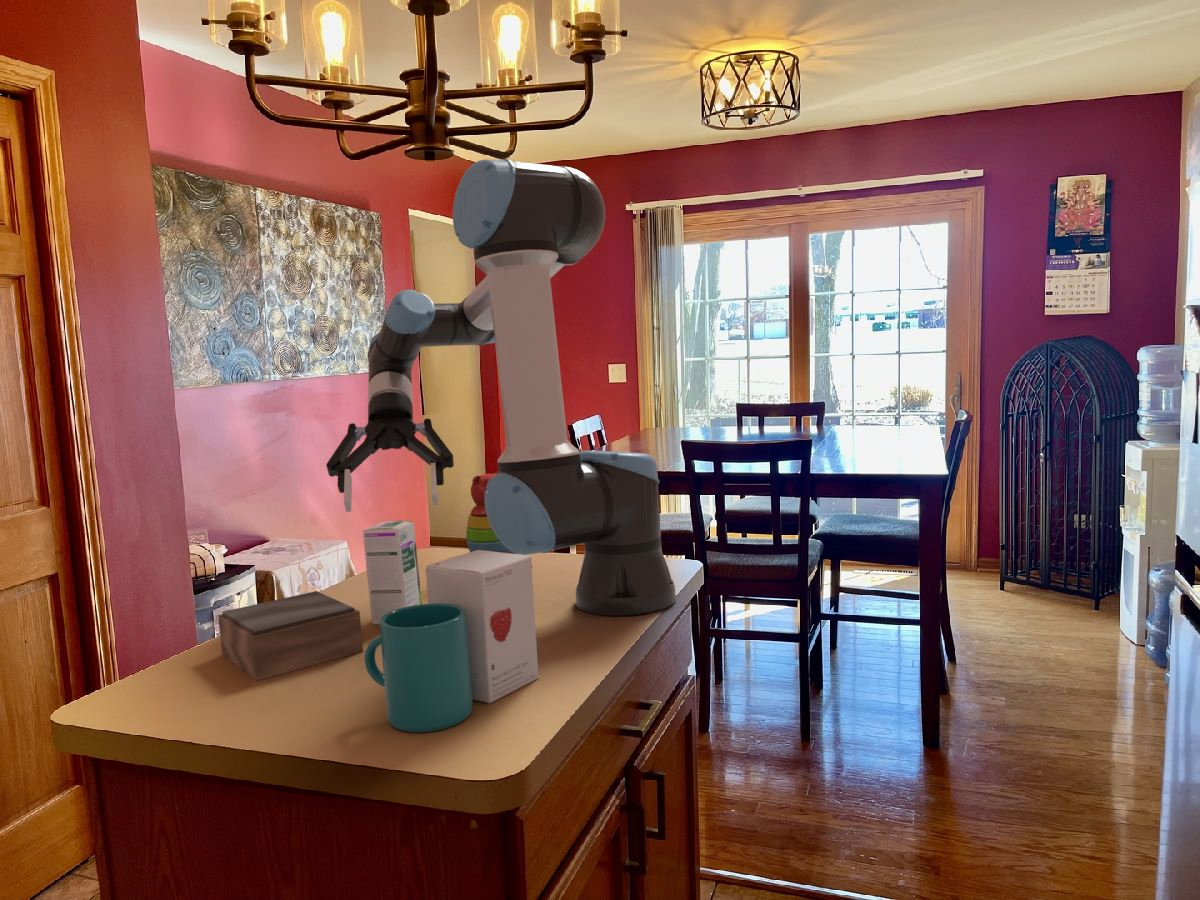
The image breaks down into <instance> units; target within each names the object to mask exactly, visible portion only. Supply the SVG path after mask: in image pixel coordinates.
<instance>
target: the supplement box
mask: <svg viewBox="0 0 1200 900" xmlns="http://www.w3.org/2000/svg"><path fill="white" fill-rule="evenodd" d="M425 575H426V590H427V604H432V603H444V604H453V605H457V606H460V607H462V608H464V609H465V611H466V621H467V634H468V647H469V660H470V673H471V686H472V700H473V701H474V700H475V701H479V702H483V703H485V704H492V703H494V702H496V701H498V700H499V699H501V698H503V697H505V696H507V695H509V694H511V693H512V692H515V691H517V690H518V689H520V688H523V687H524V686H526V685H528V684H530V683H532V682H534V681H536V680H537V679H539V664H538V663H539V662H538V649H537V648H538V647H537V630H536V615H535V614H536V613H535V599H534V597H535V596H534V584H533V563H532V555H521V554H509V553H501V552H493V551H485V550H476V551H473V552H470V551H469V552H467V553H464V554H459V555H455V556H451V557H449V558H447V559H443V560H439V561H436V562H434V563H430V564H427V565H426V566H425Z"/></svg>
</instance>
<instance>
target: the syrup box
mask: <svg viewBox="0 0 1200 900" xmlns="http://www.w3.org/2000/svg"><path fill="white" fill-rule="evenodd" d="M362 538H363V547H364V555H365V567H366V576H367V577H366V578H367V585H368V597H369V603H370V604H369V605H370V614H371V623H372V625H379V621H380V619H381V618H382V617H383V616H384V615H385V614H387V613H389V612H391V611H394V610H397V609H400V608H404V607H408V606H414V605H421V604H423V603H422V593H421V591H422V590H421V582H420V571H419V570H420V569H419V562H418V561H419V560H418V551H417V541H416V531H415V523H414V521H412V520H388V521H387V520H386V521H379V522H378V524H374V525H373V526H370V527H368V528H365V529H363V530H362Z"/></svg>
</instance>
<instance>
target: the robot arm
mask: <svg viewBox="0 0 1200 900" xmlns="http://www.w3.org/2000/svg"><path fill="white" fill-rule="evenodd" d="M455 191H456V192H455V194H454V201H453V205H452V206H453V207H452V225H453V230H454V233H455V236H456V237H457V239H458V241H459V242H460V244H462V245H463V246H465V247H467V248H468V249H473V257H474V264H475V266H476V267H477V268H478V269H480V270H481V271H482V272H483V273H484V274H486V276H485V277H484V278H483V280H481V282H480V283H478V285H476V286H475V288H473V290H472V291H471V292H470V293H469V294H468V295H467V296H466V297H465V298H464V299H463V300H462V301H461V302H458V303H457V302H455V303H453V302H451V303H447V302H446V303H444V302H443V303H442V302H441V303H438V302H437V303H435V302H433V300H432V299H431V298H430V297H429V296H427V294H425V293H423V292H416V290H414V289H405V290H404V289H403V290H400V291H399V292H397V293H396V294H395V295H394V296H393V298H392V300H391V301H390V303H389V305H388V307H387V309H386V310H385V314H384V319H383V322H382V324H381V329H380V331H379V332H377V333H376V334H375V335H373V337H372V338H371V339H370V341H369V346H368V347H369V349H368V351H367V359H368V360H367V361H368V387H367V388H368V389H367V391H368V393H367V403H368V406H367V424H366V425H365V426H356V424H355V423H354V422H352V423H349V424H348V427H347V431H346V432H347V433H346V435H345V436H344V437H343V438H342V440H341V442H340V444H339V445H338V446H337V448H336V449H335V451H334V452H333V453H332V455H331V457H330V458H329V460H328V461H327V462H326V465H325V466H326V470H327V473H328V476H329V477H337V489H338V491H339V493H340V494H343V504H344V505H343V506H344V508H345V512H346V513H349V512H350V513H352V499H353V498H352V495H353V493H352V491H353V478H352V473H353V472H354V471H356V469H357V468H359V466H360V465H361V464H363V463H364V461H365V460H367V459H368V457H370V456H371V455H374V454H375V453H377V451H378V450H380V449H381V450H382V451H387V450H391V449H392V450H401V449H402V448H403V447H404V448H406V449H407V450H408V451H409V452H412V453H414V454H415V455H416V456H418V458H420V459H421V460H423V461H424V462H425V463H426V464H427V465H428V466H430V476H431V477H430V478H431V497H432V505H433V506H436V505H437V506H438V505H439V499H438V497H439V496H438V486H444V484H445V483H444V482H445V478H444V477H445V476H444V470H445V469H446V468H449V469H451V468H454V466H455V463H454V454H453V453H452V452H451V450H450V449H449V448H448V447H447V445H446V443H445V442H444V441H443V440H442V438H441V437H440V436H439V434H438V433H437V431H435V429H434V428H433V424H432V420H431V418H427V417H426V418H425V419H424V420H423V422H418V423H415V422H414V409H413V407H414V406H413V381H412V379H413V378H412V375H413V374H412V373H413V372H412V370H413V366H414V363H415V361H416V358H417V357H418V355H419V353H420V351H421V348H423V347H424V348H425V347H426V348H427V347H428V348H429V347H447V346H449V347H450V346H485V345H486V344H487V345H489V344H495V353H496V354H495V355H496V362H497V363H496V364H497V371H498V381H499V389H500V399H501V408H502V417H503V424H504V425H503V427H504V435H505V445H506V447H505V449H504V450H503V452H502V453H501V454H500V456H499V457H498V459H497V460H496V461H497V472H499V473H498V474H496V475H495V476H494V477H492V478H491V479H490V480H489V481H488V483H487V486H486V488H487V490H486V491H485V508H486V513H487V517H488V520H489V523H490V525H491V527H492V530H493V531H494V533H495V535H496V537H497V538H499V540H500V541H501V543H502V544H503V545H504V546H505V547H506V548H507V549H509V550H510V551H512V552H514V553H516V554H521V555H528V556H530V555H535V554H548V553H550V552H552V551H555V550H560V549H564V548H568V547H573V546H578V545H582V544H584V545H583V546H584V556H583V560H582V565H581V568H580V573H579V578H578V584H577V585H576V588H575V602H576V603H575V604H576V607H577V608H578V609H579V610H582V611H583V612H586V613H589V614H595V615H601V616H615V617H616V616H619V617H620V616H633V615H636V616H637V615H643V614H648V613H649V614H651V613H654V612H657V611H660V610H663V609H666V608H669V607H670V606H672V605H673V604H674V603H675V602H676V585H675V583H674V580H673V579H672V576H671V573H670V570H669V567H668V564H667V561H666V559H665V556H664V553H663V551H662V550H663V549H662V539H661V538H662V537H661V535H662V534H661V532H662V531H661V513H660V512H661V510H660V509H661V508H660V485H659V484H660V479H659V477H658V476H659V475H658V467H657V462H656V460H655V458H654V457H653V456H652V455H650V454H648V453H645V452H644V453H641V452H630V451H627V452H626V451H612V450H582V451H580V450H579V448H577V447H575V446H574V445H573V444H572V443H571V442H570V441H569V440H568V434H567V433H568V431H567V424H566V423H567V422H566V414H565V404H564V403H565V402H564V393H563V386H562V378H561V367H560V359H559V348H558V339H557V329H556V321H555V320H556V319H555V313H554V311H555V310H554V302H553V294H552V285H551V284H552V283H551V279H552V278H553V277H554V276H555V275H556V274H557V273H558V272H559V271H560V270H561V269H563V267H565V266H572V265H576V264H578V263H579V262H580V261H581V260H582V259H583V258H585V257H586V256H587V255H588V254H589V253H590V252H591V251H592V250H593V248H594V247H595V246H596V245H597V243H598V242H599V241H600V238H601V236H602V233H603V231H604V229H605V222H606V218H607V217H606V205H605V202H604V198H603V195H602V193H601V191H600V189H599V187H598V186H597V185H596V184H595V182H594V181H593V180H592V179H591V178H590V177H589V176H587V174H585V173H584V172H582V171H580V170H578V169H576V168H573V167H570V166H565V165H550V164H541V163H534V162H524V161H517V160H516V161H515V160H511V159H509V158H502V159H481V160H478V161H476V162H474V163H472V164H471V165H470V166H469V167H468V168H467V169H466V171H465V172H464V173H463V175H462V177H461V179H460V181H459V183H458V186H457V188H456V190H455ZM417 432H418V433H420V435H422V436H423V437H426V440H427V441H428V443H429V444H430V446H431V447H432V449H433V450H434V451H435V452H434V451H433V450H432V449H431V448H430V447H428V446H427V445H426V444H424V442H422V441H421V440H419V439H418V437H416V434H417ZM363 436H366V437H365V438H364V441H362V443H361V444H360V445H358V446H357V448H355V446H356V444H357V442H360V440H361V438H362V437H363ZM354 448H355V449H354Z"/></svg>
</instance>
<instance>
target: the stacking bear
mask: <svg viewBox="0 0 1200 900" xmlns="http://www.w3.org/2000/svg"><path fill="white" fill-rule="evenodd" d="M498 473H499V472H498V471H495V472H493V473H484V474H481V475H476V476H474V477H473V478H472V484H471V487H470V495H471V498H472V500H473V502H474V504H475V506H474V507H473V508H472V509H471V510H470V513H469V515H468V517H467V527H466V532H465V533H466V535H465V536H466V537H465V538H466V544H467V548H468V551H469V552H473V551H476V550H485V551H493V552H501V553H509V554H516V553H514V552H512V551H510V550H509V549H507V548H506V547H505V546H504V545H503V544H502V543H501V541H500V540H499V538H497V537H496V535H495V533H494V531H493V530H492V527H491V525H490V523H489V520H488V517H487V513H486V508H485V491H486V490H487V488H486V486H487V483H488V481H489V480H490V479H491V478H492V477H494V476H495V475H496V474H498Z"/></svg>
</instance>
